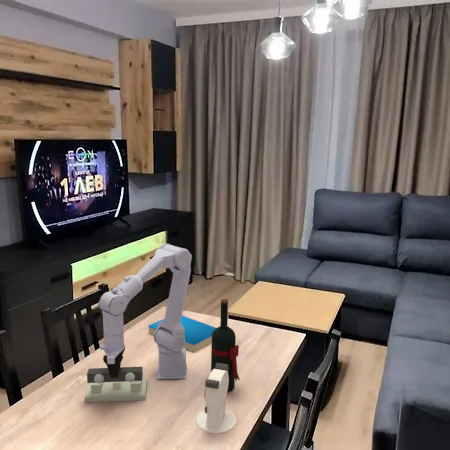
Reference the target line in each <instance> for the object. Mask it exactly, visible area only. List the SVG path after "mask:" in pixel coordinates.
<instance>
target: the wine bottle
mask: <svg viewBox="0 0 450 450" xmlns="http://www.w3.org/2000/svg"><path fill="white" fill-rule="evenodd" d="M228 312H229V298H228V297H222V298H220V322H219V323H220V325H219V326H217V327H215V328H216V329H215V330H214V331H213V333H212V343H211V350H210V351H211V353H210V354H211V356H210V373H211V372H212V370H213V369H215V366H216V363H221V364H227V365H229V370H228V376H229V384H228V391H227V394H228V393H231V392H233V391H234V389H235V388H236V387H235V386H236V383H237V380H239V381H240V377H239V373H238V365H237V363H238V362H237V357H238V356H239V354H240V353H239V349H240V348H239V347H240V346H239V344H237V345H236V341H237V340H236V339H237V338H236V333H235V331H234V330H233V328H231V327H230V326H228V319H229V317H228V316H229V315H228Z"/></svg>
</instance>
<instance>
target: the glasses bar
mask: <svg viewBox="0 0 450 450" xmlns="http://www.w3.org/2000/svg"><path fill="white" fill-rule="evenodd" d="M143 367H144V366H122V367H121V366H120V368H119V375H118V378H111V377H110V374H109V370H108V367H98V368H95V367H94V368H91V367H90V368H88V371H87V373H86V381H87V382H86V383H87V384H89V383H102V382H124V381H127V382H132V381H142V378H144V377H143V376H144V375H143V373H144V372H143V369H144V368H143Z"/></svg>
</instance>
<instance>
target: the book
mask: <svg viewBox="0 0 450 450" xmlns="http://www.w3.org/2000/svg"><path fill="white" fill-rule="evenodd" d="M163 320H164V318H163V319H161V320H157V321H155V322H153V323H150V324H149V325H147V326H148V334H150V335H153V336H154V334H155V331H156V330H157V328H158V324H159V322H161V321H163ZM181 324H182V326H183V328H184V329H185V334H184V337H185V344H184V347H183V348H186V351H190V352H192V353H196V352H198V351H200V350H202V349H204V348H205V347H207V346H209V345H212V333H213V331H214V330H215V329H216V328H217V327H215V326H212V325H209V324H207V323H205V322H201V321H199V320H196V319H193V318H191V317H187V316H185V315H183V314H182V317H181Z"/></svg>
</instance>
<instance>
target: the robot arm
mask: <svg viewBox="0 0 450 450" xmlns="http://www.w3.org/2000/svg"><path fill="white" fill-rule="evenodd" d="M192 258H193V255H192V254H191V252H190V251H189V250H188V249H187V248H183V247H179V246H177V245H176V246H175V245H172V244H170V243H164V244H161V245H160V247H159V248H157V249H156V250H155V254H154V256H153V257H152V258H151V259H150V260H148V261H147V262H146V264H145V265H144V266H142V267H141V269H139V271H138V272H136V274H130V275H127V276H125V277H124V278H123V280H122V281H121V282H119V283H118V285H116V286H115V287H113V288H112V290H111V291H106V292H104V293H103V294H102V295H101V296H100V299H99V301H98V303H97V304H98V307H99V309H100V310H101V312H102V323H103V324H102V325H103V326H102V329H103V344H101V345H100V347H99V349H100V350H101V351H104V353H105V355H103V358H102V361H103V363H104V364H105V365H106V368H108V370H109V374H110V377H111V378H118V375H119V368H120V367H121V365H122V362H123V359H124V352H125V351H126V345H125V336H124V335H125V334H124V313H125V311H126V310H127V307H128V304H130V301H131V300H132V299H133V298H135V296H137V294H139V293H140V292H141V291H142V290H143V287H144V283H146V282H147V281H148V280H149V279H151V277H153V276H154V275H155V274H157V273H158V272H159V271H160V270H162V269H169V270H170V271H171V272H172V279H171V285H170V289H169V294H168V300H167V304H166V308H165V309H166V310H165V314H164V318H163V319H164V320H163V321H161V322H159V324H158V328H157V330H156V331H155V334H154V335H153V340H154V343H155V344H157V349H158V366H157V374H156V379H157V380H178V379H182V380H183V379H187V370H188V363H187V349H186V348H183V347H184V344H185V337H184V334H185V329H184V328H183V326H182V324H181V317H182V315H183V313H184V307H185V302H186V297H187V291H188V286H189V282H190V277H191V273H192V272H191V271H192V268H191V265H192V264H191V263H192Z"/></svg>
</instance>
